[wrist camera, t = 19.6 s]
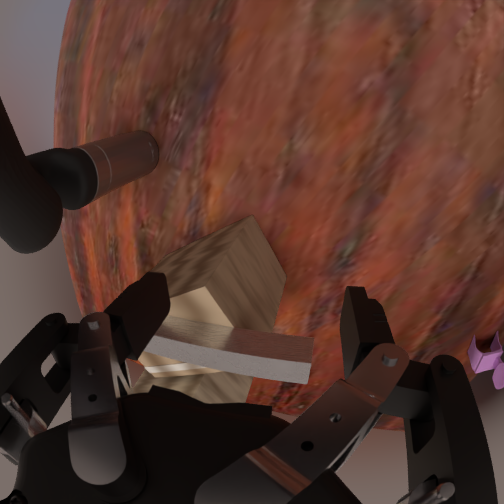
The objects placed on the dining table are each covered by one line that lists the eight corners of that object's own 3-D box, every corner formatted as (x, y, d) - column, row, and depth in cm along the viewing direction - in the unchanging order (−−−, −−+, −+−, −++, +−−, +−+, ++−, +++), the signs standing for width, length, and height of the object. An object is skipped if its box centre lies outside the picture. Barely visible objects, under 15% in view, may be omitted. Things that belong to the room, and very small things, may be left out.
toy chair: (473, 332, 50) (491, 378, 38) (499, 327, 48) (518, 370, 35) (464, 355, 54) (478, 399, 41) (489, 349, 51) (505, 392, 38)
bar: (145, 329, 39) (131, 347, 36) (137, 308, 37) (123, 326, 34) (310, 359, 34) (307, 384, 30) (314, 337, 32) (311, 363, 28)
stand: (207, 347, 72) (154, 453, 44) (146, 265, 63) (53, 364, 35) (312, 323, 59) (287, 468, 31) (252, 214, 51) (161, 354, 23)
